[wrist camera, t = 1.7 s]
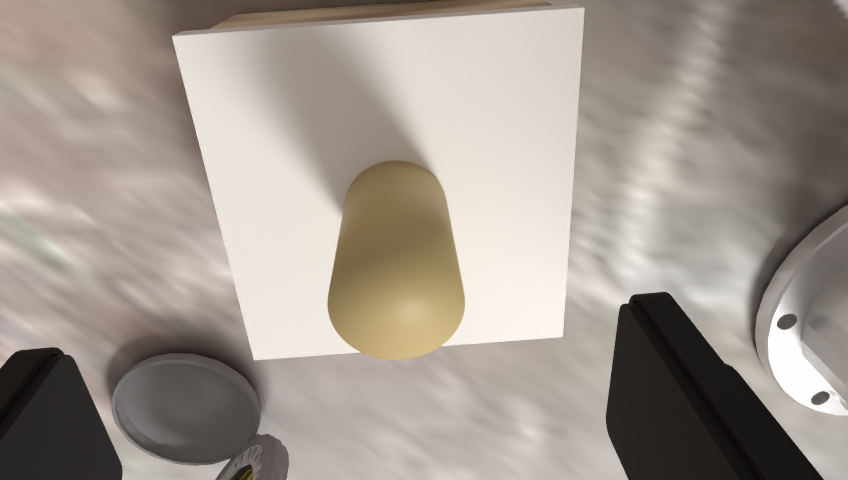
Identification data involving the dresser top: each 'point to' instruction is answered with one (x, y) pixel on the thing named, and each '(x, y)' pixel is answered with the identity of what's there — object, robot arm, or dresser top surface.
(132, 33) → the dresser top surface
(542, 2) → the keepsake box
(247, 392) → the pocket watch
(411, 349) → the lid
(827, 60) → the dresser top surface
